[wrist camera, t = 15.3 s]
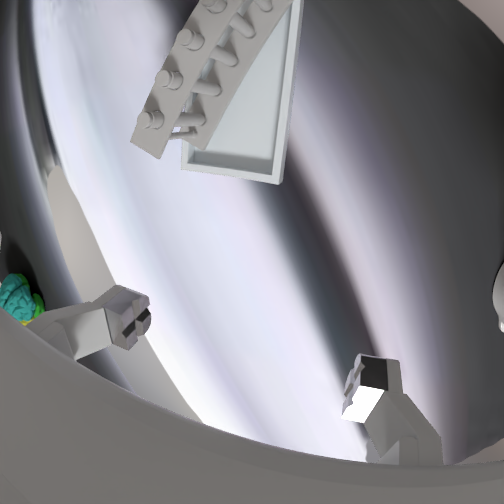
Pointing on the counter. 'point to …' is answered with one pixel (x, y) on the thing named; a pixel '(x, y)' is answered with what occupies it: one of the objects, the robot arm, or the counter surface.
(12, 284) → the brain model
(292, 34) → the tray
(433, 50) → the counter surface
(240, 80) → the test tube rack
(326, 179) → the counter surface
